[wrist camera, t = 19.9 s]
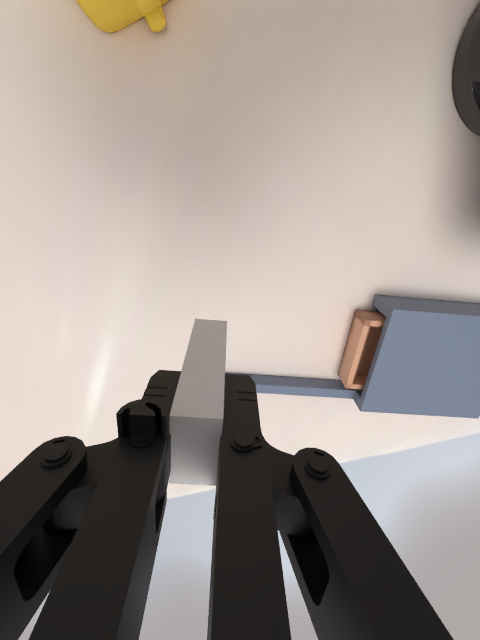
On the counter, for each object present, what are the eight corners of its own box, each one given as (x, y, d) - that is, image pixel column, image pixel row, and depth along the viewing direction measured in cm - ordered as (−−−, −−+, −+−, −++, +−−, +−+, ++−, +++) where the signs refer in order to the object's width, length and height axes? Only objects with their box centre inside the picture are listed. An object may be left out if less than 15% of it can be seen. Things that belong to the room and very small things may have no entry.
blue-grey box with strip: (220, 281, 41) (219, 295, 36) (497, 305, 43) (530, 320, 38) (213, 379, 47) (211, 402, 43) (454, 395, 50) (478, 418, 45)
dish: (355, 310, 43) (365, 320, 40) (462, 318, 44) (480, 329, 41) (337, 374, 48) (345, 388, 44) (435, 381, 49) (449, 395, 45)
